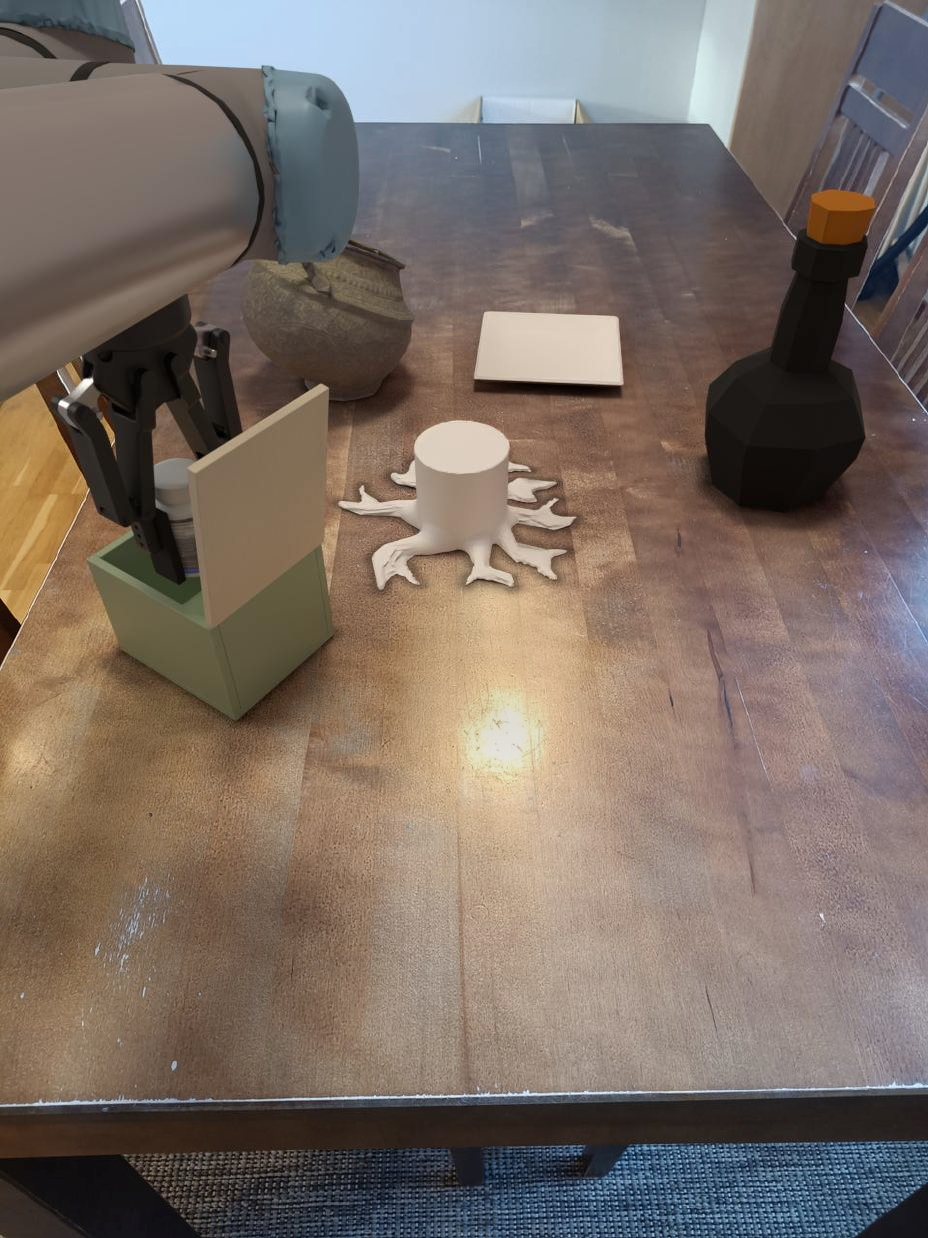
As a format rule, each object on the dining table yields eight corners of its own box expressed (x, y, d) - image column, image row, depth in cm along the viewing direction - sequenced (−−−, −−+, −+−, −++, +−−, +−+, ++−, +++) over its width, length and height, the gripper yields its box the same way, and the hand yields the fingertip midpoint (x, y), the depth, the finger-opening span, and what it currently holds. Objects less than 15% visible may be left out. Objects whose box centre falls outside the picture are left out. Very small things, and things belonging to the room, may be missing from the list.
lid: (185, 467, 56) (195, 473, 56) (320, 382, 63) (329, 387, 63) (205, 623, 67) (213, 629, 67) (317, 536, 75) (324, 541, 75)
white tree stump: (598, 579, 88) (609, 502, 81) (343, 602, 86) (332, 524, 79) (552, 449, 104) (558, 376, 97) (336, 466, 102) (327, 392, 95)
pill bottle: (167, 545, 73) (141, 458, 67) (226, 537, 74) (205, 450, 68) (167, 583, 69) (140, 495, 64) (229, 574, 70) (208, 486, 64)
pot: (254, 434, 107) (213, 217, 89) (256, 351, 121) (221, 151, 104) (426, 419, 109) (418, 205, 91) (408, 339, 123) (398, 141, 106)
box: (121, 650, 81) (85, 559, 74) (222, 574, 89) (199, 484, 81) (236, 721, 75) (210, 630, 68) (334, 634, 83) (321, 543, 75)
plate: (616, 329, 126) (618, 314, 124) (621, 398, 112) (623, 383, 111) (483, 323, 127) (484, 309, 125) (473, 391, 113) (473, 376, 112)
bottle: (866, 518, 95) (979, 229, 74) (716, 530, 93) (788, 239, 72) (807, 435, 106) (890, 164, 85) (672, 445, 105) (723, 172, 84)
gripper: (184, 210, 62) (243, 487, 78) (-50, 305, 51) (74, 601, 68) (263, 234, 59) (307, 517, 75) (31, 341, 48) (141, 642, 65)
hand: (197, 556), depth 71 cm, fingers closed on pill bottle, 5 cm apart
